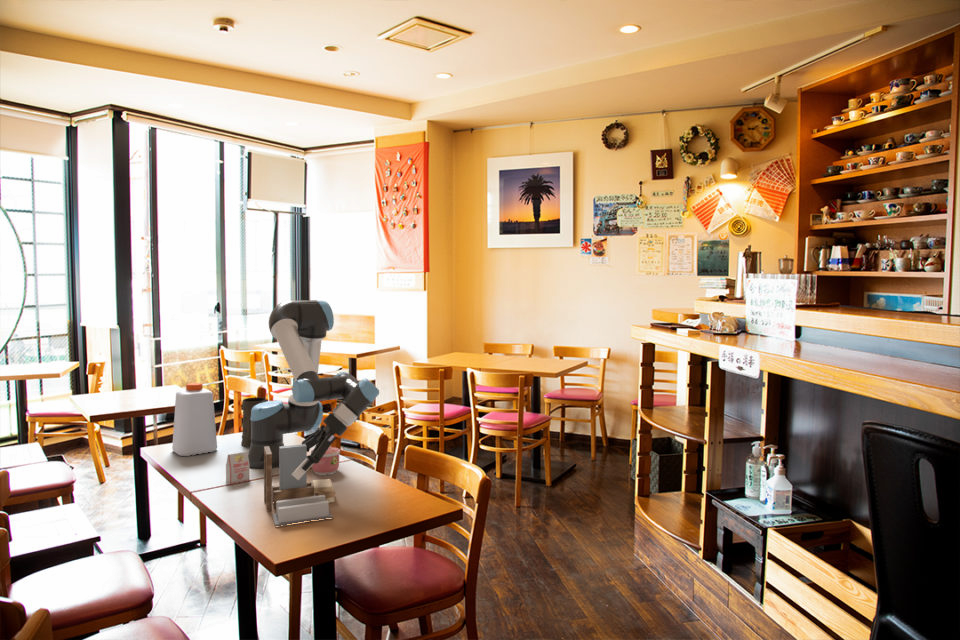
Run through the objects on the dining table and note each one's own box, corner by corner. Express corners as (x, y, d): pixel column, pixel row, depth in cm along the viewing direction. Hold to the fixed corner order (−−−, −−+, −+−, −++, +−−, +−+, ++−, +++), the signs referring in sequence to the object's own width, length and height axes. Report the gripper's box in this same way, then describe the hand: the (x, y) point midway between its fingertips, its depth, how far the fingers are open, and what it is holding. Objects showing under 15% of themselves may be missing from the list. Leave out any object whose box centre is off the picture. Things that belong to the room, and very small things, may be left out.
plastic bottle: (208, 444, 250) (208, 379, 249) (220, 451, 239) (219, 384, 238) (169, 450, 240) (169, 383, 239) (180, 458, 229) (179, 388, 228)
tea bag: (226, 481, 202) (225, 453, 202) (245, 477, 207) (245, 450, 206) (229, 484, 200) (229, 455, 199) (249, 480, 204) (249, 452, 204)
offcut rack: (330, 492, 194) (330, 440, 193) (335, 502, 184) (335, 447, 184) (264, 500, 185) (263, 446, 184) (266, 511, 176) (266, 454, 175)
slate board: (305, 499, 187) (305, 444, 186) (306, 502, 184) (306, 446, 183) (279, 502, 183) (279, 446, 182) (280, 505, 181) (280, 448, 180)
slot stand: (327, 508, 179) (327, 493, 179) (332, 519, 171) (332, 503, 171) (272, 516, 172) (272, 500, 172) (275, 527, 164) (275, 510, 164)
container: (311, 477, 208) (311, 455, 208) (310, 469, 218) (310, 448, 218) (341, 475, 212) (341, 453, 211) (338, 466, 222) (338, 446, 221)
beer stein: (237, 442, 254) (237, 397, 252) (261, 438, 261) (262, 395, 258) (249, 452, 242) (249, 406, 240) (274, 448, 249) (275, 403, 247)
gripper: (357, 435, 178) (306, 490, 173) (340, 419, 201) (295, 467, 195) (339, 420, 176) (288, 475, 170) (324, 405, 198) (278, 453, 193)
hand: (291, 471), depth 183 cm, fingers open, 13 cm apart
